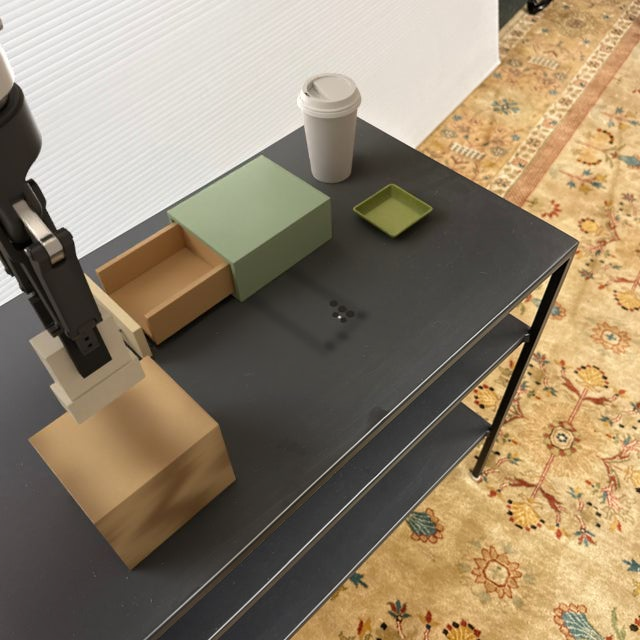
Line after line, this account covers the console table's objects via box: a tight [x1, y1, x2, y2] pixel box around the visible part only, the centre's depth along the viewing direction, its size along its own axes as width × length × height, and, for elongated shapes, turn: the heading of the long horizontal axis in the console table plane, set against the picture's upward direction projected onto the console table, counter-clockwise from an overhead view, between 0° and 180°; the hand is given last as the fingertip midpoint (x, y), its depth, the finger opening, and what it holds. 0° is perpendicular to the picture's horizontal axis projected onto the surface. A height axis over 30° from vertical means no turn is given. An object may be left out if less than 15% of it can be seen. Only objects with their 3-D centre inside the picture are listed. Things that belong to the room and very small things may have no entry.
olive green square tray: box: [352, 183, 434, 239], centre depth 97 cm, size 9×9×2 cm
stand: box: [28, 356, 237, 571], centre depth 67 cm, size 14×12×12 cm
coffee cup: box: [296, 72, 363, 184], centre depth 100 cm, size 10×10×15 cm
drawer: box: [84, 222, 236, 360], centre depth 85 cm, size 21×13×6 cm, turn 134°
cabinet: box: [166, 154, 333, 303], centre depth 92 cm, size 18×15×8 cm
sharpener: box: [29, 299, 146, 425], centre depth 54 cm, size 7×3×9 cm, turn 135°
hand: (84, 354), depth 54 cm, fingers closed on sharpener, 3 cm apart
